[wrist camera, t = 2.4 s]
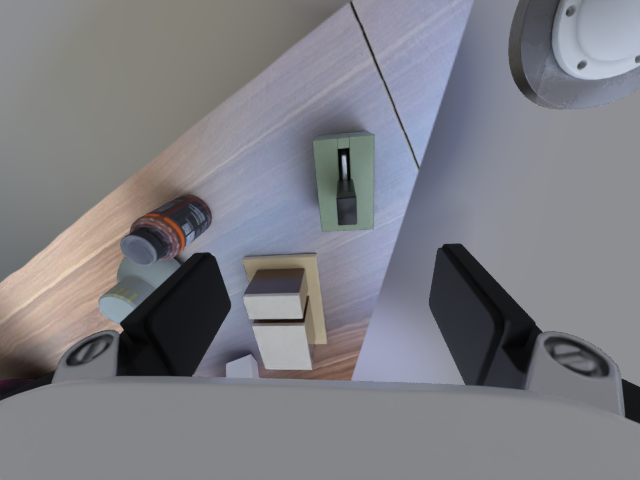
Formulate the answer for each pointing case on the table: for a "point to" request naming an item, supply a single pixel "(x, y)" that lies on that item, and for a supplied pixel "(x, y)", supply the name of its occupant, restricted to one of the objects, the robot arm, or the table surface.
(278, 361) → the cake
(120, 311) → the air freshener
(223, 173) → the table surface
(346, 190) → the knife
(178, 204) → the supplement bottle
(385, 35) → the table surface
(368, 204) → the knife block
